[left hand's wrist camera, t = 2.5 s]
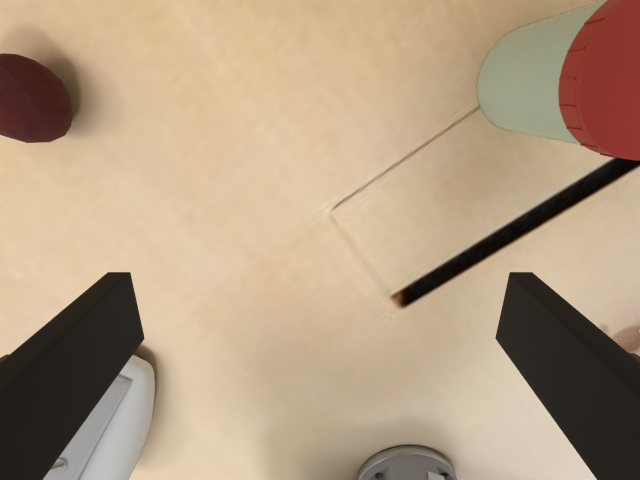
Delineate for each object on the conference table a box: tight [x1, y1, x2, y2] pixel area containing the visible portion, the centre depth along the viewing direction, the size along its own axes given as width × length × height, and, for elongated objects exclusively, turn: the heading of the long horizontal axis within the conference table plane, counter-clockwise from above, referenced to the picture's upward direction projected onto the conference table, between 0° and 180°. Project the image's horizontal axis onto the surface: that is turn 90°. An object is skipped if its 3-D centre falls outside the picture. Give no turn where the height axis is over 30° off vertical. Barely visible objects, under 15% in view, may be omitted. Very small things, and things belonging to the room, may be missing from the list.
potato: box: [0, 54, 72, 143], centre depth 33 cm, size 7×8×7 cm
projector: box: [43, 355, 155, 480], centre depth 45 cm, size 22×23×15 cm
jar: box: [477, 0, 607, 145], centre depth 29 cm, size 10×10×15 cm
